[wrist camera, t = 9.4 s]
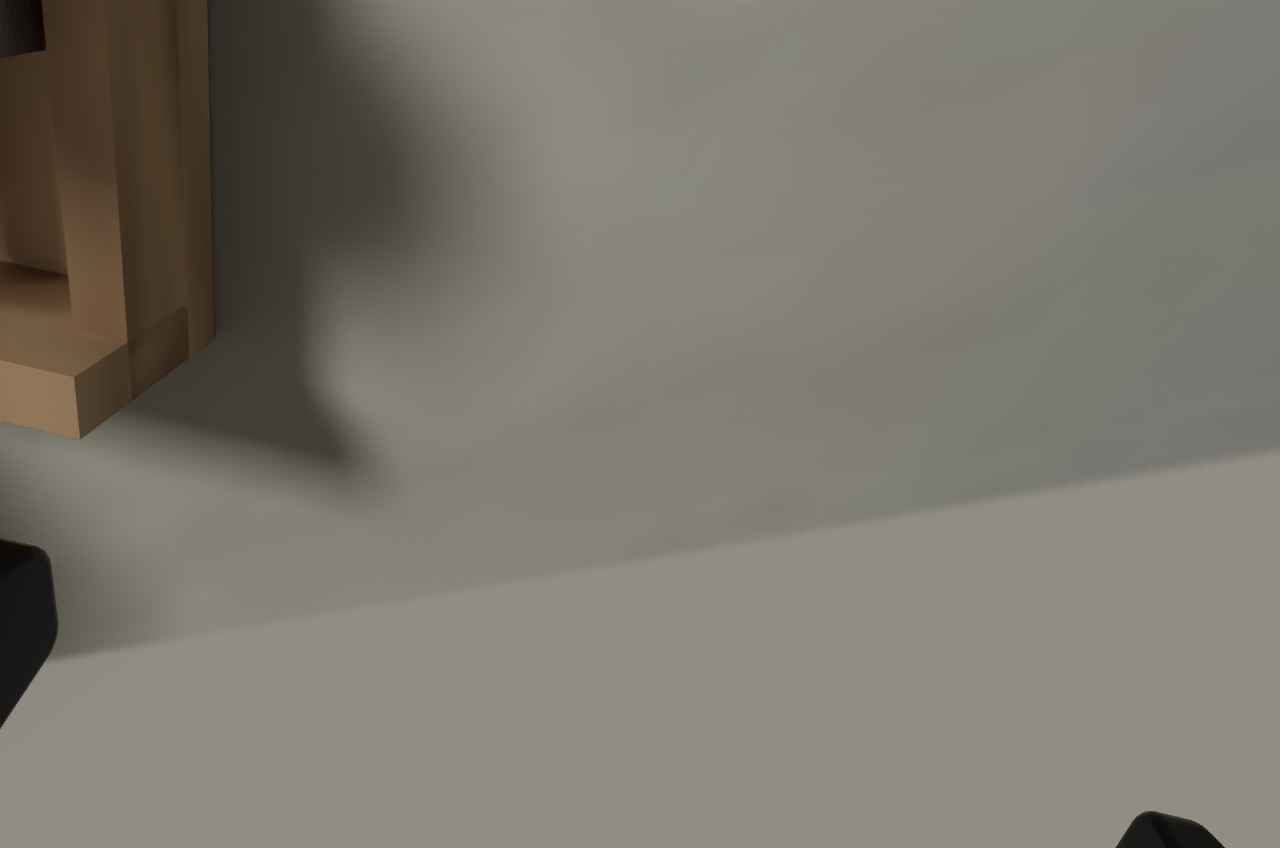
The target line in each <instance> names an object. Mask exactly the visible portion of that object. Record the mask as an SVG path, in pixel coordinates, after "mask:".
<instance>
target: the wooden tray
mask: <svg viewBox="0 0 1280 848" xmlns="http://www.w3.org/2000/svg"><path fill="white" fill-rule="evenodd" d="M42 11H43V21H44V31H45V42H46V50H43V51H38V52H32V53H27V54H21V55H16V56H10V57H5V58H0V421H3V422H8V423H12V424H16V425H20V426H25V427H29V428H33V429H37V430H42V431H46V432H50V433H55V434H59V435H63V436H67V437H72V438H76V439H81V438H83V437H84V436H85V435H87V434H88V433H89V432H91V431H92V430H93V429H95V428H96V427H97V426H99V425H100V424H101V423H103V422H104V421H105V420H107V419H108V418H109V417H111V416H112V415H113V414H115V413H116V412H117V411H119V410H120V409H121V408H123V407H124V406H125V405H127V404H128V403H129V402H131V401H132V400H133V399H135V398H136V397H137V396H139V395H140V394H141V393H143V392H144V391H145V390H147V389H148V388H149V387H151V386H152V385H153V384H155V383H156V382H157V381H159V380H160V379H161V378H163V377H164V376H165V375H167V374H168V373H169V372H171V371H172V370H173V369H175V368H176V367H177V366H179V365H180V364H181V363H183V362H184V361H185V360H187V359H188V358H189V357H191V356H192V355H193V354H195V353H196V352H197V351H199V350H200V349H201V348H203V347H204V346H205V345H207V344H208V343H209V342H211V341H212V340H213V339H214V295H213V248H212V200H211V152H210V105H209V57H208V10H207V0H42Z"/></svg>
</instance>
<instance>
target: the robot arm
mask: <svg viewBox="0 0 1280 848" xmlns="http://www.w3.org/2000/svg"><path fill="white" fill-rule="evenodd" d="M57 632H58V617H57V609H56V601H55V593H54V585H53V577H52V569H51V563H50V559H49V557H48V555H47V554H46V553H45V551H44V550H42V549H40V548H39V547H36V546H32V545H28V544H24V543H19V542H15V541H11V540H7V539H2V538H0V729H1V727H2V726H3V724H4V723H5V721H6V719H7V718H8V716H9V715H10V713H11V712H12V710H13V709H14V707H15V706H16V704H17V703H18V701H19V700H20V698H21V697H22V695H23V694H24V692H25V691H26V689H27V688H28V686H29V685H30V683H31V682H32V680H33V679H34V677H35V676H36V674H37V673H38V671H39V670H40V668H41V667H42V665H43V664H44V662H45V661H46V659H47V658H48V656H49V654H50V652H51V650H52V648H53V646H54V644H55V640H56V637H57ZM1116 848H1225V847H1224V846H1223V845H1222V844H1221V843H1220V842H1219V841H1218V840H1217V839H1216V838H1215V837H1214V836H1213V835H1212V834H1211V833H1210V832H1209V831H1208V830H1207V829H1205V828H1204V827H1203V826H1202V825H1200V824H1199V823H1196V822H1194V821H1192V820H1189V819H1184V818H1180V817H1176V816H1172V815H1168V814H1163V813H1159V812H1154V811H1146V812H1144V813H1142V814H1140V815H1138V816H1137V817H1136V818H1135V819H1134V820H1133V822H1132V823H1131V825H1130V827H1129V828H1128V829H1127V831H1126V832H1125V834H1124V836H1123V837H1122V839H1121V840H1120V842H1119V844H1118V845H1117V846H1116Z"/></svg>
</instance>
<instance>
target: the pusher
mask: <svg viewBox="0 0 1280 848" xmlns="http://www.w3.org/2000/svg"><path fill="white" fill-rule="evenodd" d="M43 50H46V42H45V31H44V21H43V11H42V0H0V58H5V57H10V56H16V55H21V54H27V53H32V52H38V51H43Z"/></svg>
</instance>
